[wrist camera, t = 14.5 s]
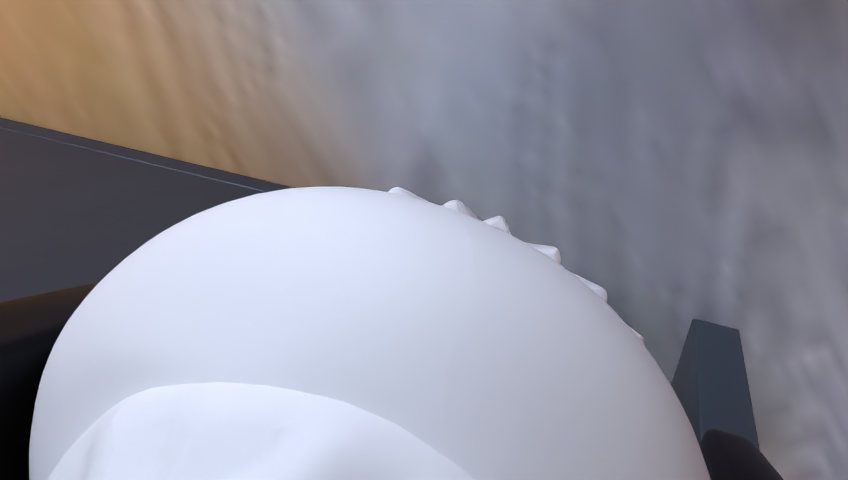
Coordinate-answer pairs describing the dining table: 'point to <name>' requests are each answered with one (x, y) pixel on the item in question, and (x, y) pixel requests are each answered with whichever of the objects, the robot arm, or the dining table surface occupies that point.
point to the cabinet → (91, 205)
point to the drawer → (714, 381)
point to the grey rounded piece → (352, 355)
